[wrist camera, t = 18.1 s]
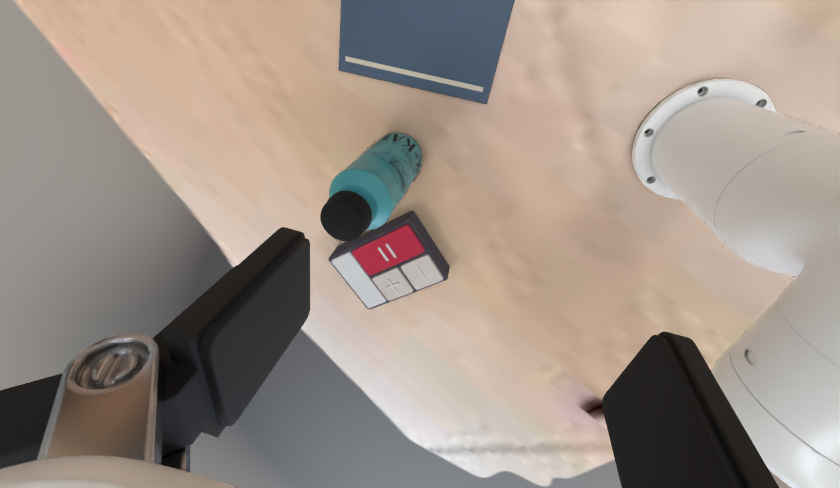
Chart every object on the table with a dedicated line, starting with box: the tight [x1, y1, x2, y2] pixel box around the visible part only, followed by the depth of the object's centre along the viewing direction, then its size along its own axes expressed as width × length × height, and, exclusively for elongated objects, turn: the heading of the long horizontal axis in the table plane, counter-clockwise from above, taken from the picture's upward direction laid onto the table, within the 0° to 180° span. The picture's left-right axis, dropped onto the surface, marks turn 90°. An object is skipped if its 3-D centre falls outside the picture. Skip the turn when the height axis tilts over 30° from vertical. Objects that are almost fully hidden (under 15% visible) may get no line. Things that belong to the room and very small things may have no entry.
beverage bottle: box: [321, 132, 423, 241], centre depth 37 cm, size 6×7×20 cm
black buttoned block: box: [329, 211, 449, 309], centre depth 53 cm, size 11×4×15 cm
